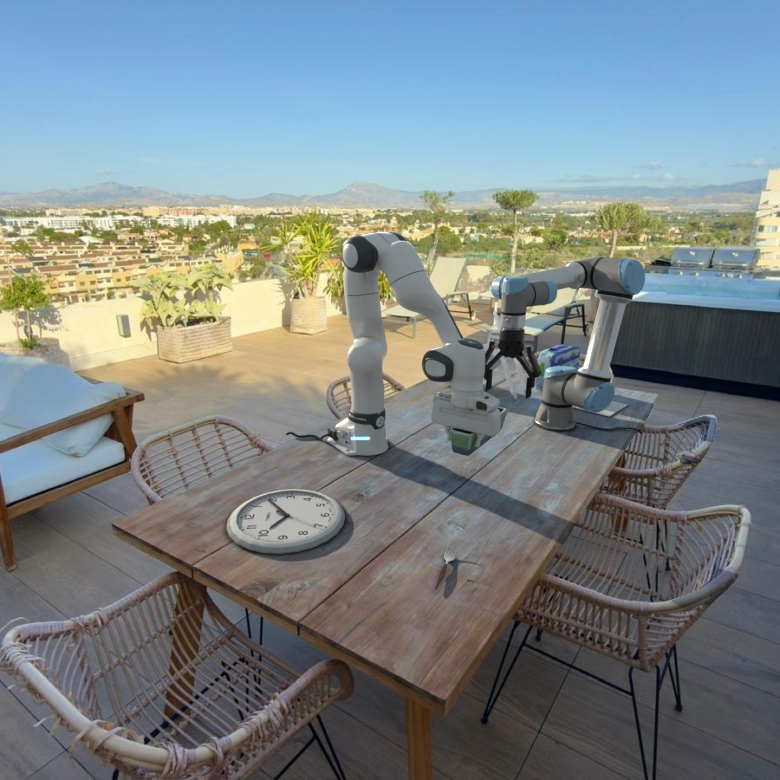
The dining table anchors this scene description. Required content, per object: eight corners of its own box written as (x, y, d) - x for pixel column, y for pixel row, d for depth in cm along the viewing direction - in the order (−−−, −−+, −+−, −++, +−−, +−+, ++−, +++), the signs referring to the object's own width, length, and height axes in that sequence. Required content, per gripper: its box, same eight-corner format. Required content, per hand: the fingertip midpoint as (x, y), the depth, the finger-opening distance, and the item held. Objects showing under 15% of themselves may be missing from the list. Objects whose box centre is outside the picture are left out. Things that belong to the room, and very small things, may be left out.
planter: (485, 424, 172) (487, 404, 170) (506, 429, 168) (508, 408, 166) (446, 453, 150) (448, 429, 148) (469, 459, 146) (471, 435, 144)
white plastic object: (461, 429, 252) (437, 405, 227) (444, 352, 274) (420, 323, 250) (535, 404, 240) (518, 377, 215) (510, 326, 262) (492, 293, 237)
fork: (429, 589, 110) (429, 581, 109) (447, 548, 124) (448, 541, 124) (441, 592, 109) (441, 584, 108) (458, 550, 123) (459, 543, 123)
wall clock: (345, 545, 122) (213, 550, 119) (345, 551, 122) (214, 556, 120) (344, 484, 150) (238, 487, 148) (345, 490, 151) (239, 492, 148)
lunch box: (552, 397, 237) (557, 352, 231) (531, 392, 245) (535, 348, 238) (579, 386, 255) (584, 344, 249) (558, 381, 262) (563, 340, 256)
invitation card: (608, 416, 214) (573, 407, 224) (608, 416, 214) (573, 408, 224) (628, 404, 229) (594, 396, 238) (628, 405, 229) (594, 397, 238)
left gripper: (428, 393, 148) (426, 438, 152) (496, 407, 138) (492, 455, 142) (438, 388, 153) (436, 431, 158) (505, 401, 143) (500, 447, 147)
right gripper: (470, 325, 165) (467, 389, 172) (547, 334, 151) (541, 404, 157) (481, 321, 171) (478, 383, 177) (556, 330, 156) (550, 397, 163)
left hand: (463, 443), depth 150 cm, fingers closed on planter, 6 cm apart
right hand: (507, 393), depth 167 cm, fingers open, 13 cm apart
